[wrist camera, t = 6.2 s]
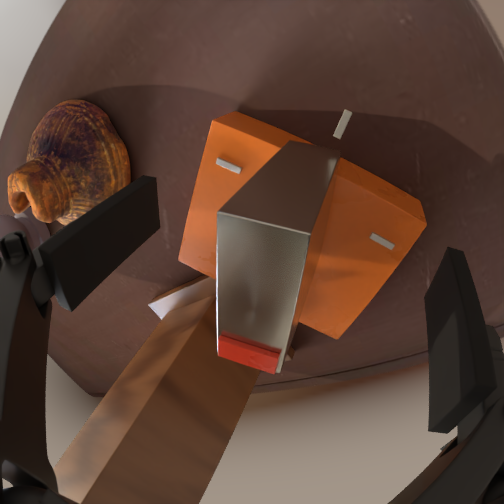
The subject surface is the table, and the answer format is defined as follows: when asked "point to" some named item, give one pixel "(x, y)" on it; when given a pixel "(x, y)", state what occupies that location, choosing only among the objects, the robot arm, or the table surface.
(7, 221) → the cat figurine
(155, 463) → the brown wooden square column
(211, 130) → the orange flat square block
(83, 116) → the brown rounded piece
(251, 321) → the steel brick red tip
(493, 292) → the table surface
